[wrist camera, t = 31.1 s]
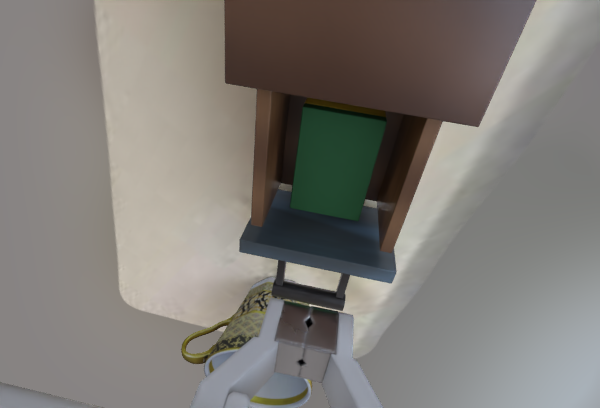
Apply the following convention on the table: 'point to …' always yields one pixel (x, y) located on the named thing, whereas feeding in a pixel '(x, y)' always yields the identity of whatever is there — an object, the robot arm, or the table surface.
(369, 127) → the sponge
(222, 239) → the table surface
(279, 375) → the ceramic cup
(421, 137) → the drawer
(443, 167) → the table surface
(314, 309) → the robot arm
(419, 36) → the cabinet
